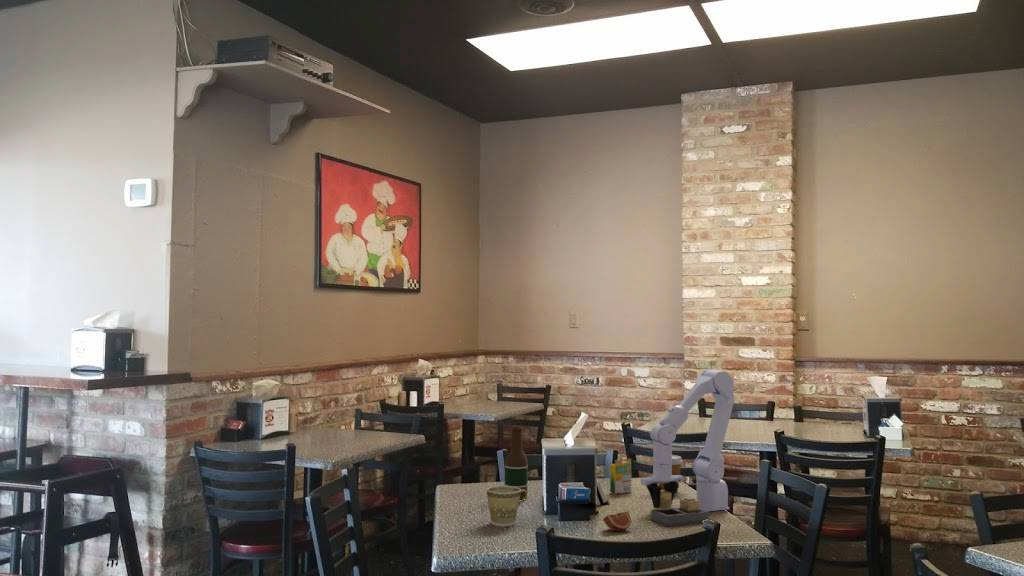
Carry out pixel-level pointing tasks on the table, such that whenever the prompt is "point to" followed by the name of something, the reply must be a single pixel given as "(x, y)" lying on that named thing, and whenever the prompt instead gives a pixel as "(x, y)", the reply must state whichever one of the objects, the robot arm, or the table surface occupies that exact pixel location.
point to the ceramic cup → (504, 504)
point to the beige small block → (664, 500)
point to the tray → (680, 514)
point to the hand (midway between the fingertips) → (662, 506)
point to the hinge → (601, 495)
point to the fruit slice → (618, 521)
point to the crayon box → (620, 476)
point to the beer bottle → (516, 463)
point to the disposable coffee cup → (674, 468)
